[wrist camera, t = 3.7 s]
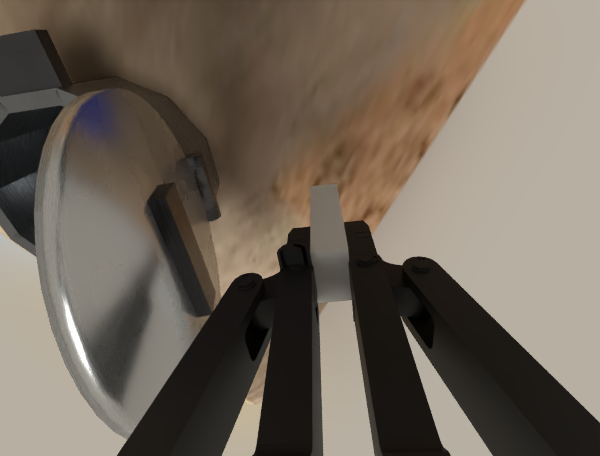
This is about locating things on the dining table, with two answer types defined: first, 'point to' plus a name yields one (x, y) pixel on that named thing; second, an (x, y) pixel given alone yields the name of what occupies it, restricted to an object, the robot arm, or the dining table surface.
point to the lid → (121, 251)
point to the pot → (43, 112)
